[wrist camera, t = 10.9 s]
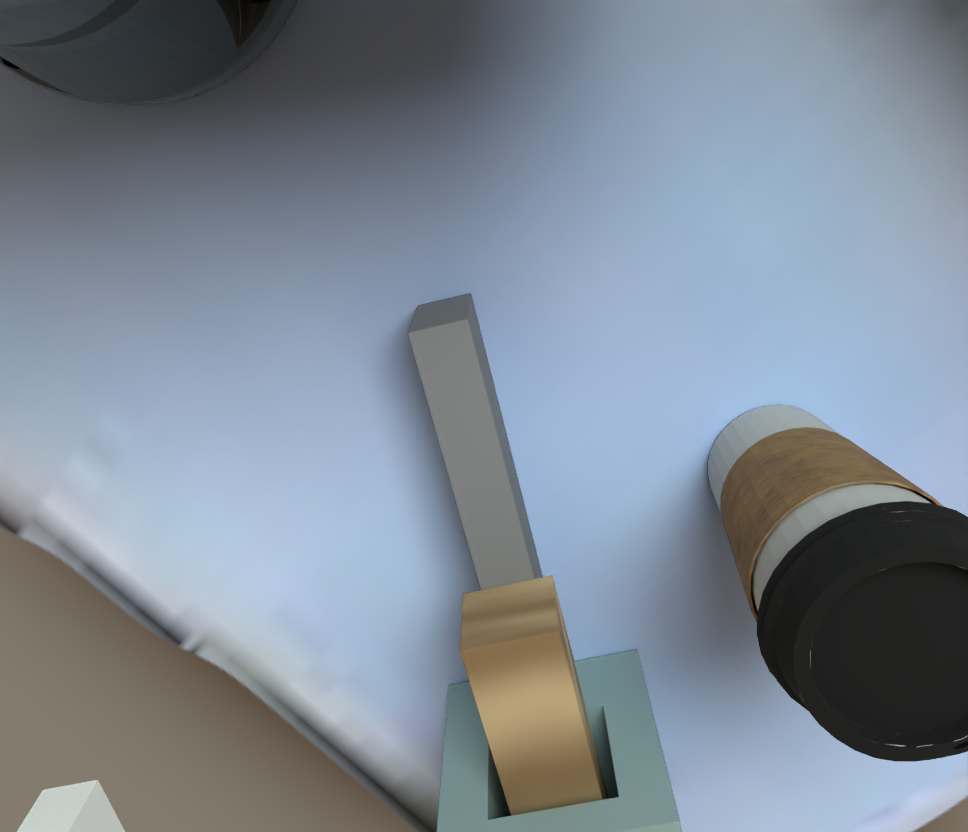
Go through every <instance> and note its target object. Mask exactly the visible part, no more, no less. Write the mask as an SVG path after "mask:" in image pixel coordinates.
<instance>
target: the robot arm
mask: <svg viewBox="0 0 968 832" xmlns="http://www.w3.org/2000/svg"><path fill="white" fill-rule="evenodd" d="M296 1H297V0H0V64H1V65H3V66H4V67H6V68H7V69H9V70H11V71H12V72H14V73H16V74H17V75H19V76H21V77H23V78H25V79H27V80H29V81H31V82H33V83H35V84H37V85H40V86H42V87H44V88H47V89H49V90H52V91H55V92H58V93H61V94H64V95H67V96H70V97H74V98H78V99H82V100H86V101H92V102H97V103H106V104H124V105H130V104H153V103H164V102H171V101H176V100H181V99H185V98H189V97H192V96H195V95H198V94H201V93H203V92H206V91H208V90H211V89H213V88H215V87H217V86H219V85H221V84H223V83H224V82H226V81H228V80H229V79H231V78H232V77H234V76H236V75H237V74H238V73H240V72H241V71H242V70H244V69H245V68H246V67H247V66H248V65H250V64H251V63H252V62H253V61H254V60H255V59H256V58H257V57H258V56H259V55H260V54H261V53H262V52H263V51H264V50H265V49H266V48H267V47H268V45H269V44H270V43H271V42H272V41H273V39H274V38H275V37H276V35H277V34H278V32H279V31H280V30H281V28H282V27H283V25H284V24H285V22H286V20H287V18H288V17H289V15H290V13H291V11H292V9H293V7H294V5H295V3H296ZM17 832H125V831H124V829H123V827H122V825H121V823H120V821H119V819H118V817H117V816H116V814H115V812H114V810H113V808H112V806H111V804H110V802H109V800H108V798H107V796H106V794H105V793H104V791H103V789H102V787H101V785H100V783H99V781H98V780H94V781H89V782H84V783H78V784H73V785H67V786H61V787H56V788H50V789H45V790H43V791H42V792H41V794H40V796H39V797H38V799H37V800H36V802H35V804H34V805H33V807H32V808H31V810H30V812H29V813H28V815H27V816H26V818H25V819H24V821H23V823H22V824H21V826H20V827H19V829H18V830H17Z"/></svg>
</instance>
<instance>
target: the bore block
mask: <svg viewBox="0 0 968 832" xmlns="http://www.w3.org/2000/svg"><path fill="white" fill-rule="evenodd" d="M574 663H575V667H576V671H577V675H578V679H579V683H580V687H581V691H582V695H583V699H584V703H585V707H586V711H587V715H588V719H589V722H590V726H591V730H592V734H593V738H594V742H595V746H596V750H597V754H598V758H599V762H600V766H601V770H602V774H603V778H604V782H605V786H606V790H607V794H608V798H609V799H605V800H599V801H593V802H587V803H582V804H576V805H570V806H565V807H559V808H553V809H547V810H542V811H536V812H530V813H525V814H519V815H513V816H511V813H510V810H509V807H508V804H507V801H506V797H505V794H504V791H503V788H502V784H501V781H500V778H499V775H498V772H497V768H496V765H495V762H494V759H493V755H492V752H491V749H490V746H489V742H488V739H487V736H486V733H485V730H484V726H483V723H482V720H481V717H480V713H479V710H478V707H477V704H476V701H475V697H474V694H473V691H472V688H471V684H470V681H468V682H463V683H458V684H453V685H449V686H448V699H447V711H446V723H445V736H444V748H443V761H442V773H441V786H440V798H439V810H438V823H437V832H682V828H681V823H680V819H679V815H678V811H677V807H676V803H675V799H674V795H673V791H672V787H671V783H670V779H669V775H668V771H667V767H666V763H665V759H664V755H663V751H662V747H661V743H660V739H659V735H658V731H657V727H656V723H655V719H654V715H653V711H652V707H651V703H650V699H649V695H648V691H647V687H646V683H645V679H644V675H643V671H642V667H641V663H640V659H639V655H638V651H637V649H635V650H630V651H625V652H619V653H614V654H609V655H604V656H599V657H593V658H588V659H583V660H578V661H574Z"/></svg>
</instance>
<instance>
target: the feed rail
mask: <svg viewBox="0 0 968 832" xmlns="http://www.w3.org/2000/svg"><path fill="white" fill-rule="evenodd" d="M408 335H409V338H410V342H411V346H412V349H413V353H414V356H415V360H416V363H417V367H418V370H419V374H420V377H421V381H422V384H423V388H424V391H425V395H426V398H427V402H428V405H429V409H430V412H431V416H432V419H433V423H434V426H435V430H436V433H437V437H438V440H439V444H440V448H441V451H442V455H443V458H444V462H445V465H446V469H447V472H448V476H449V479H450V483H451V486H452V490H453V493H454V497H455V500H456V504H457V507H458V511H459V514H460V518H461V521H462V525H463V528H464V532H465V535H466V539H467V542H468V546H469V550H470V553H471V557H472V560H473V564H474V567H475V571H476V574H477V578H478V581H479V585H480V588H481V590H484V589H488V588H493V587H498V586H503V585H508V584H513V583H518V582H522V581H527V580H532V579H537V578H542V577H543V576H542V572H541V568H540V564H539V561H538V557H537V553H536V549H535V545H534V541H533V537H532V533H531V529H530V525H529V521H528V517H527V513H526V509H525V505H524V501H523V497H522V493H521V489H520V485H519V481H518V478H517V474H516V470H515V466H514V462H513V458H512V454H511V450H510V446H509V442H508V438H507V434H506V430H505V426H504V422H503V418H502V414H501V410H500V406H499V402H498V398H497V394H496V391H495V387H494V383H493V379H492V375H491V371H490V367H489V363H488V359H487V355H486V351H485V347H484V343H483V339H482V335H481V331H480V327H479V323H478V319H477V315H476V311H475V307H474V304H473V300H472V296H471V293H469V294H465V295H460V296H456V297H452V298H448V299H444V300H439V301H435V302H431V303H427V304H423V305H418V307H417V309H416V312H415V315H414V318H413V320H412V323H411V326H410V329H409V331H408Z"/></svg>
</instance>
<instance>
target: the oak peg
mask: <svg viewBox="0 0 968 832" xmlns="http://www.w3.org/2000/svg"><path fill="white" fill-rule="evenodd" d="M460 652H461V655H462V659H463V662H464V665H465V668H466V672H467V675H468V678H469V681H470V684H471V688H472V691H473V694H474V697H475V701H476V704H477V707H478V710H479V713H480V717H481V720H482V723H483V726H484V730H485V733H486V736H487V739H488V742H489V746H490V749H491V752H492V755H493V759H494V762H495V765H496V768H497V772H498V775H499V778H500V781H501V784H502V788H503V791H504V794H505V797H506V801H507V804H508V807H509V810H510V813H511V816H513V815H519V814H525V813H530V812H536V811H542V810H547V809H553V808H559V807H565V806H570V805H576V804H582V803H587V802H593V801H599V800H605V799H609V798H608V794H607V790H606V786H605V782H604V778H603V774H602V770H601V766H600V762H599V758H598V754H597V750H596V746H595V742H594V738H593V734H592V730H591V726H590V722H589V719H588V715H587V711H586V707H585V703H584V699H583V695H582V691H581V687H580V683H579V679H578V675H577V671H576V667H575V663H574V659H573V655H572V651H571V647H570V643H569V639H568V635H567V631H566V627H565V623H564V619H563V615H562V612H561V608H560V604H559V600H558V596H557V592H556V588H555V584H554V580H553V576H547V577H542V578H537V579H532V580H527V581H522V582H518V583H513V584H508V585H503V586H498V587H493V588H488V589H484V590H479V591H474V592H469V593H464V594H463V607H462V624H461V642H460Z"/></svg>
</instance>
